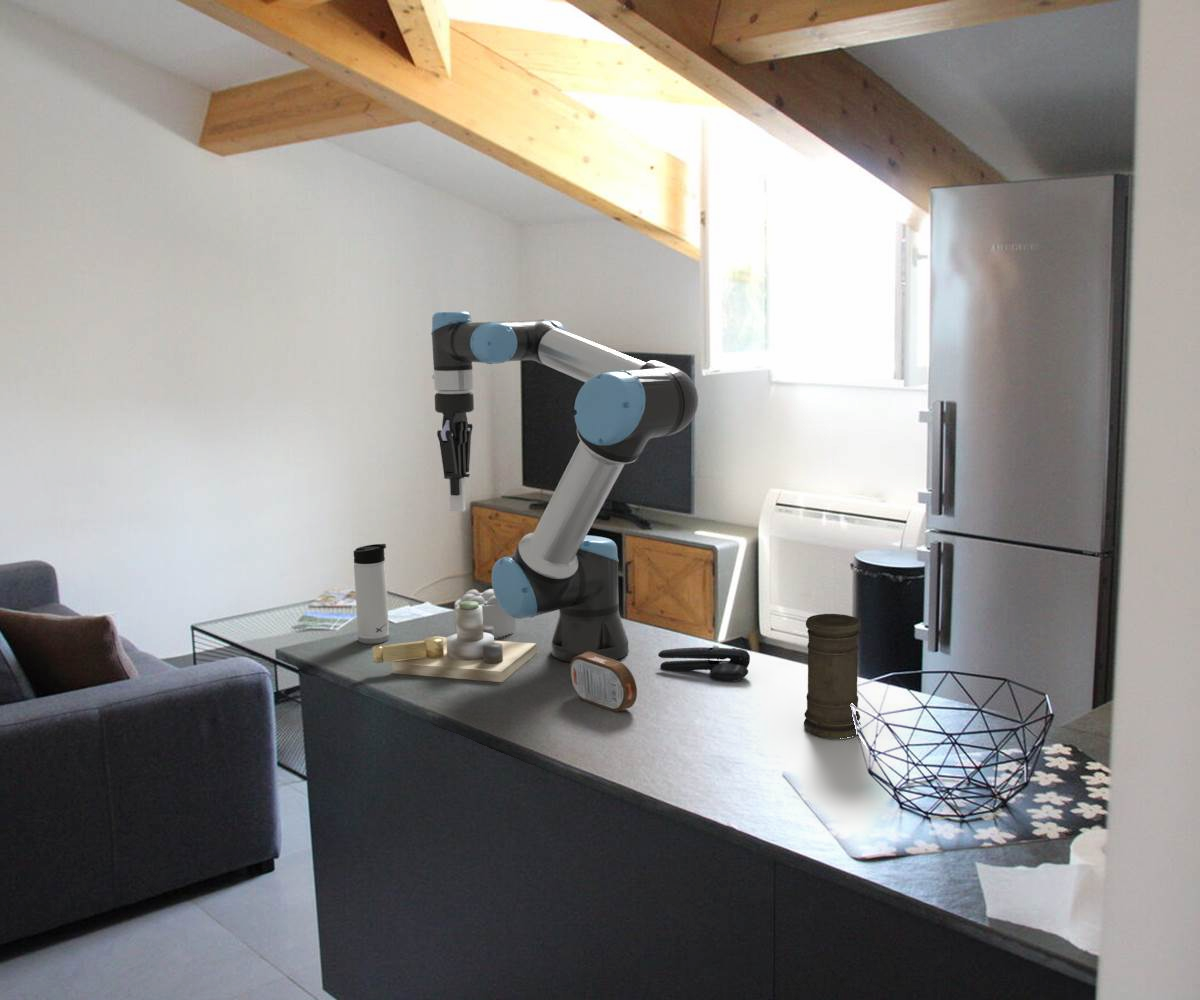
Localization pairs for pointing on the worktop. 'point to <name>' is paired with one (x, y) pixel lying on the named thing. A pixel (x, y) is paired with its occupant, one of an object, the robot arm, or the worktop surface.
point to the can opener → (709, 661)
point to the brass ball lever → (409, 650)
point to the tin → (603, 681)
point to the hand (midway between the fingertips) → (458, 510)
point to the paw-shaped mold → (490, 612)
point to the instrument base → (469, 667)
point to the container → (832, 675)
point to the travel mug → (371, 594)
